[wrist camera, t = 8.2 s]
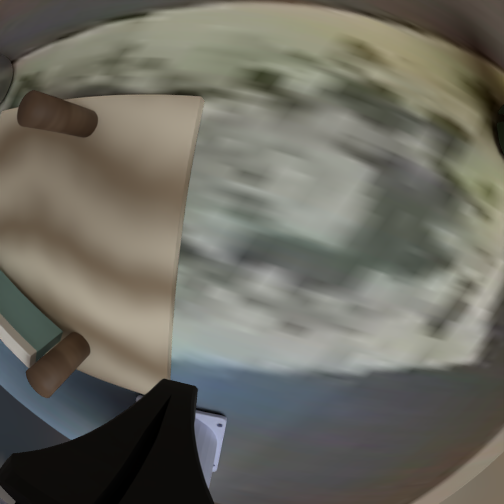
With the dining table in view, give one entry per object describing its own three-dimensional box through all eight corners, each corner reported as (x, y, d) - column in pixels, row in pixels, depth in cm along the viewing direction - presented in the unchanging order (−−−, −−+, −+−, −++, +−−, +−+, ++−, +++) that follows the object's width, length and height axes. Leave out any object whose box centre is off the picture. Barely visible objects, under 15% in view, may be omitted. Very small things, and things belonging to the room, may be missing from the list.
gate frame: (170, 393, 21) (143, 454, 14) (7, 326, 21) (-33, 354, 14) (204, 101, 16) (169, 55, 9) (8, 112, 16) (-44, 104, 9)
